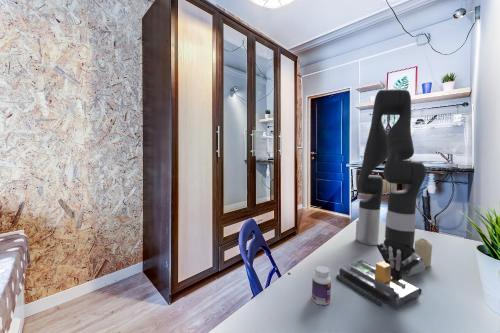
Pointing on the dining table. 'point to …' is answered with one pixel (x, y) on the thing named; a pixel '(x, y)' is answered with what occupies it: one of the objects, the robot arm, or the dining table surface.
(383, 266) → the lever
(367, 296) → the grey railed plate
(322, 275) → the pill bottle
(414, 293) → the panel
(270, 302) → the dining table surface
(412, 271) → the ceramic mug
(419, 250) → the candle
